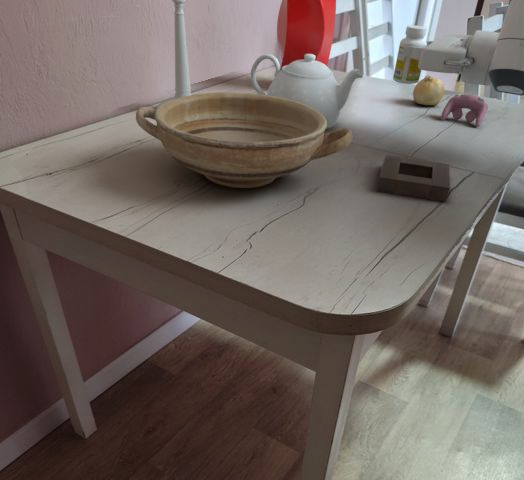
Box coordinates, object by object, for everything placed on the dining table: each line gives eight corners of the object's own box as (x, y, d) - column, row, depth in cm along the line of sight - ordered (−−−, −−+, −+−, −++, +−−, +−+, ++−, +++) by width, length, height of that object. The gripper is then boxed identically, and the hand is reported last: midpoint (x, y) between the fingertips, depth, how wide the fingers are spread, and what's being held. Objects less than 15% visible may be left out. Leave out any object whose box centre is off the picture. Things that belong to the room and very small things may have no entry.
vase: (270, 82, 140) (277, -43, 122) (318, 82, 143) (331, -40, 125) (285, 96, 129) (295, -38, 111) (335, 95, 133) (353, -35, 114)
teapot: (315, 107, 123) (322, 44, 114) (355, 129, 111) (367, 61, 102) (247, 112, 116) (249, 46, 107) (282, 137, 104) (288, 64, 95)
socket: (445, 177, 92) (449, 164, 90) (445, 202, 83) (450, 188, 81) (382, 167, 94) (385, 154, 92) (376, 191, 85) (379, 177, 83)
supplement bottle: (420, 80, 104) (433, 26, 98) (415, 85, 101) (428, 30, 94) (395, 76, 106) (406, 23, 99) (389, 81, 102) (400, 26, 96)
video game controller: (480, 131, 120) (492, 101, 118) (479, 126, 116) (491, 95, 114) (441, 123, 124) (452, 93, 122) (438, 118, 120) (450, 87, 118)
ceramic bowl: (347, 158, 96) (356, 103, 90) (339, 222, 75) (351, 156, 68) (167, 137, 100) (163, 83, 93) (110, 192, 79) (100, 127, 72)
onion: (414, 98, 135) (420, 69, 130) (443, 103, 132) (451, 74, 128) (407, 105, 129) (414, 75, 124) (438, 110, 127) (446, 80, 122)
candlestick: (212, 105, 120) (210, -54, 100) (209, 120, 110) (206, -51, 90) (160, 102, 119) (147, -58, 99) (152, 118, 109) (137, -56, 89)
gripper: (462, 86, 90) (390, 74, 95) (480, 67, 104) (416, 57, 108) (474, 46, 86) (397, 36, 90) (490, 32, 100) (424, 24, 104)
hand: (408, 47), depth 100 cm, fingers closed on supplement bottle, 5 cm apart
